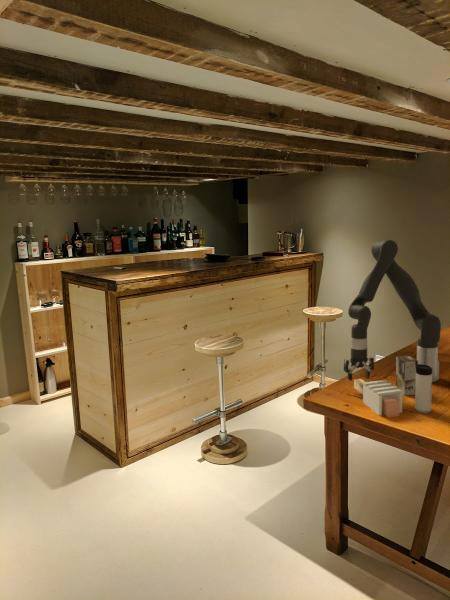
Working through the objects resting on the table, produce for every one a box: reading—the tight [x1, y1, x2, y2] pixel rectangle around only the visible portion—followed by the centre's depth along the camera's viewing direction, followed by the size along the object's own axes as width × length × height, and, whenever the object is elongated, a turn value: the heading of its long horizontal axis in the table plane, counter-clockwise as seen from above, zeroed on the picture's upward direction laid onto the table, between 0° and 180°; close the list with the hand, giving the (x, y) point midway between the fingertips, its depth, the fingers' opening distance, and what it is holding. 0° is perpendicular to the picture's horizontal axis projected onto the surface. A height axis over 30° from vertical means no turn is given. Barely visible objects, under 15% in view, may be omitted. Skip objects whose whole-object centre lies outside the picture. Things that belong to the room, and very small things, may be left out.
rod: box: [353, 378, 387, 399], centre depth 204 cm, size 4×26×4 cm, turn 9°
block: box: [382, 398, 401, 418], centre depth 187 cm, size 5×5×6 cm
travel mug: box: [414, 364, 433, 414], centre depth 187 cm, size 6×7×20 cm
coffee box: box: [395, 354, 418, 396], centre depth 208 cm, size 9×6×16 cm
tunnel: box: [362, 379, 403, 416], centre depth 194 cm, size 10×14×10 cm
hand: (358, 379), depth 214 cm, fingers open, 8 cm apart
